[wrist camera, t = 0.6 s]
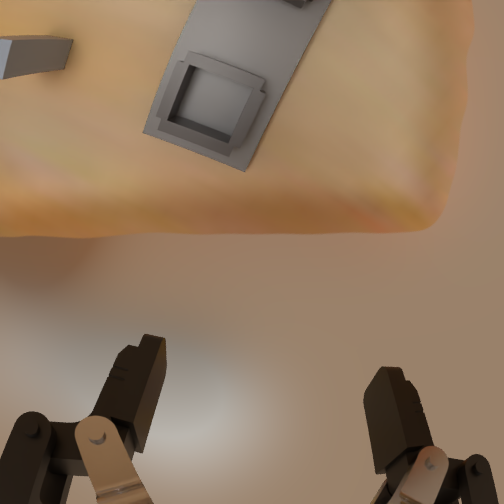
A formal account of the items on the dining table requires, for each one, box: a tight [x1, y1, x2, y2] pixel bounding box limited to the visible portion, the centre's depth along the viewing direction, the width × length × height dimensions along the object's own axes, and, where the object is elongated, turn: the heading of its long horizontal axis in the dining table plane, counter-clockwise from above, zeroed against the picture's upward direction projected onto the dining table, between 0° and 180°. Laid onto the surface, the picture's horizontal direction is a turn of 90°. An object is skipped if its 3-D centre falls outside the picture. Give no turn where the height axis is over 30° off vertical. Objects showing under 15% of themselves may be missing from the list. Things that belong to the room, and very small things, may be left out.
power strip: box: [143, 0, 331, 172], centre depth 18 cm, size 24×10×11 cm, turn 156°
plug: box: [0, 35, 73, 79], centre depth 19 cm, size 3×4×10 cm
